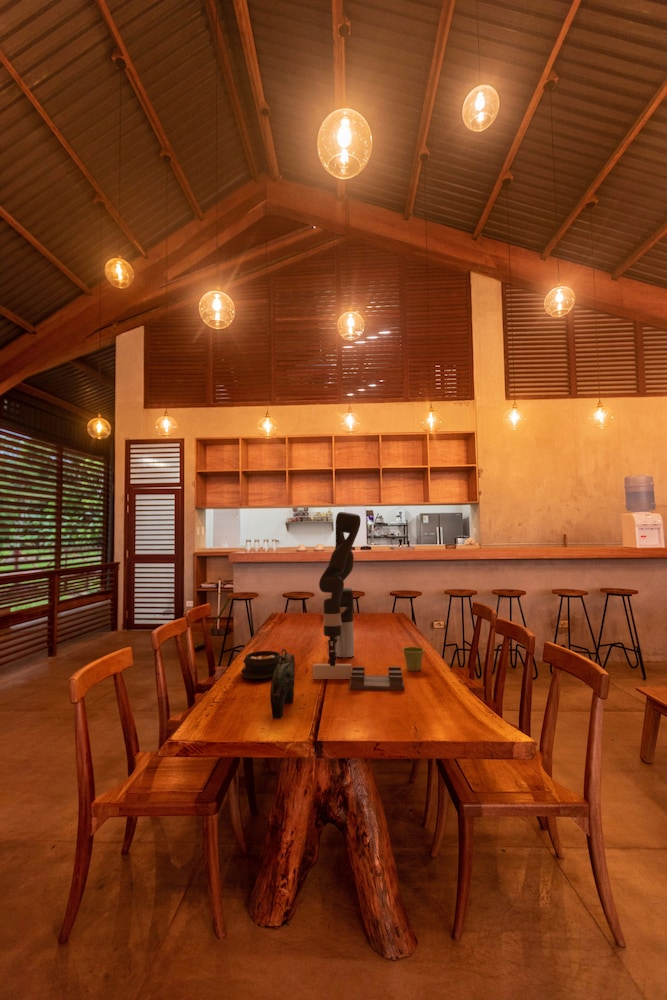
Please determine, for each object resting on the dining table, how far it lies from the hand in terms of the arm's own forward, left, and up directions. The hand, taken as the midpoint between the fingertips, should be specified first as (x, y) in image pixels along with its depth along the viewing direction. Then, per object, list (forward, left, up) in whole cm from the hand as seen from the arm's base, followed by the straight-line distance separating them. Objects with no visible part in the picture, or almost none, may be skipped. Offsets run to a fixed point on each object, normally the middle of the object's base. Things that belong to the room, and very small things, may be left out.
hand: (333, 663), depth 199 cm
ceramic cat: (+34, -15, -7) cm, 37 cm away
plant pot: (-14, +34, -7) cm, 38 cm away
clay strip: (0, -1, -7) cm, 7 cm away
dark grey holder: (+7, +18, -7) cm, 20 cm away
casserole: (-6, -32, -7) cm, 33 cm away
